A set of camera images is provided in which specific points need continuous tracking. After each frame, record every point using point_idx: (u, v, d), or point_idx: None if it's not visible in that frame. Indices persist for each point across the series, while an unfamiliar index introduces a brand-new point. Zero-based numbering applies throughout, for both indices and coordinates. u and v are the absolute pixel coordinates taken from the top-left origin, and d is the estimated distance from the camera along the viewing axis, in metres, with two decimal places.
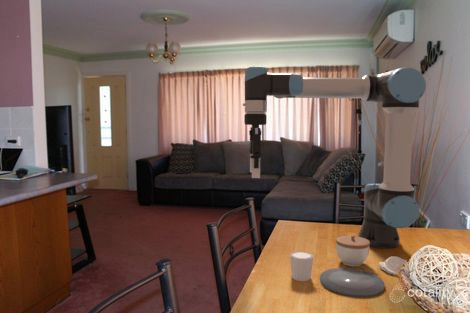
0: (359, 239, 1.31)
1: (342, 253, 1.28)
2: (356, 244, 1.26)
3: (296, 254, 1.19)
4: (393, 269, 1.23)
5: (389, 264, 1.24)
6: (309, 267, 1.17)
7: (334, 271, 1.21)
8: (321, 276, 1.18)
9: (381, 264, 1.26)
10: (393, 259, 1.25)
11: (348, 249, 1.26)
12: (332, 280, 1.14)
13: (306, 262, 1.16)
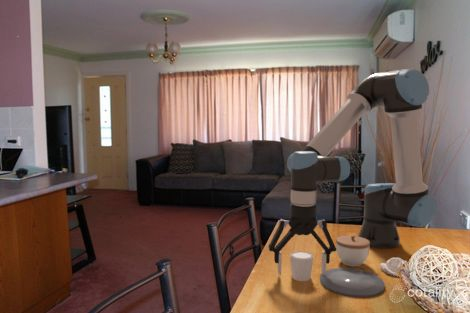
0: (359, 239, 1.31)
1: (342, 253, 1.28)
2: (356, 244, 1.26)
3: (296, 254, 1.19)
4: (394, 270, 1.22)
5: (390, 265, 1.23)
6: (309, 267, 1.17)
7: (334, 271, 1.21)
8: (321, 276, 1.18)
9: (382, 265, 1.25)
10: (394, 260, 1.24)
11: (348, 249, 1.26)
12: (332, 280, 1.14)
13: (306, 262, 1.16)
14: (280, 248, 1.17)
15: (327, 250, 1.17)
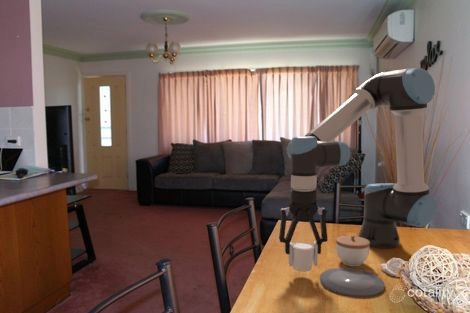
0: (359, 239, 1.31)
1: (342, 253, 1.28)
2: (356, 244, 1.26)
3: (297, 245, 1.19)
4: (395, 271, 1.21)
5: (391, 266, 1.23)
6: (310, 257, 1.17)
7: (334, 271, 1.21)
8: (321, 276, 1.18)
9: (383, 266, 1.25)
10: (395, 261, 1.24)
11: (348, 249, 1.26)
12: (332, 280, 1.14)
13: (307, 253, 1.16)
14: (290, 238, 1.17)
15: (319, 240, 1.17)
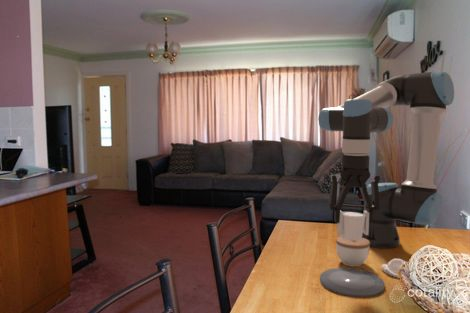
0: None
1: (342, 253, 1.28)
2: (356, 244, 1.26)
3: (347, 213, 1.14)
4: (396, 272, 1.21)
5: (392, 266, 1.22)
6: (362, 226, 1.12)
7: (334, 271, 1.21)
8: (321, 276, 1.18)
9: (384, 266, 1.24)
10: (396, 261, 1.23)
11: (348, 249, 1.26)
12: (332, 280, 1.14)
13: (359, 220, 1.11)
14: (340, 206, 1.12)
15: (370, 208, 1.12)
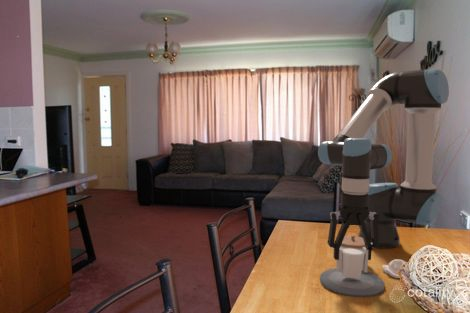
0: (359, 239, 1.31)
1: None
2: (356, 244, 1.26)
3: (346, 250, 1.15)
4: (397, 272, 1.20)
5: (393, 267, 1.22)
6: (361, 264, 1.12)
7: (334, 271, 1.21)
8: (321, 276, 1.18)
9: (384, 267, 1.24)
10: (397, 262, 1.23)
11: None
12: (332, 280, 1.14)
13: (358, 258, 1.12)
14: (340, 243, 1.13)
15: (369, 246, 1.13)
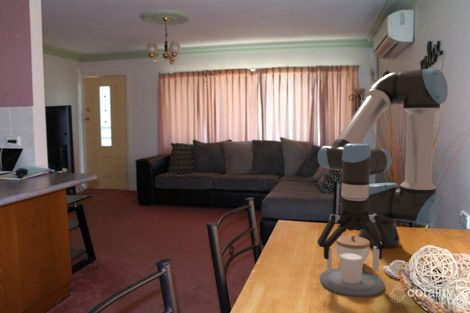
0: (359, 239, 1.31)
1: None
2: (356, 244, 1.26)
3: (345, 255, 1.15)
4: None
5: (394, 268, 1.21)
6: (360, 268, 1.13)
7: (334, 271, 1.21)
8: (321, 276, 1.18)
9: (385, 268, 1.23)
10: (398, 263, 1.22)
11: (348, 249, 1.26)
12: (332, 280, 1.14)
13: (357, 263, 1.12)
14: (330, 243, 1.13)
15: (380, 245, 1.13)
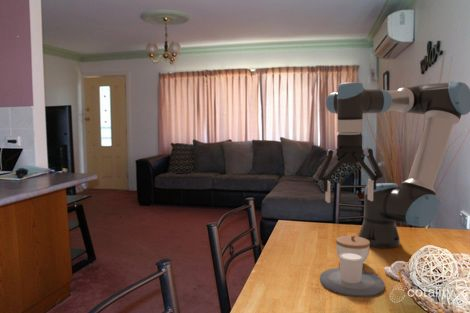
0: (359, 239, 1.31)
1: None
2: (356, 244, 1.26)
3: (345, 255, 1.15)
4: None
5: (395, 269, 1.20)
6: (360, 268, 1.13)
7: (334, 271, 1.21)
8: (321, 276, 1.18)
9: (386, 269, 1.22)
10: (399, 264, 1.21)
11: (348, 249, 1.26)
12: (332, 280, 1.14)
13: (357, 263, 1.12)
14: (329, 177, 1.22)
15: (374, 177, 1.23)
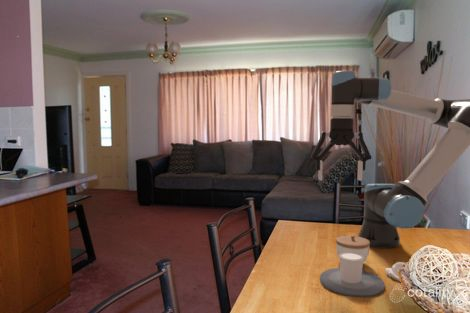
0: (359, 239, 1.31)
1: None
2: (356, 244, 1.26)
3: (345, 255, 1.15)
4: None
5: (396, 270, 1.19)
6: (360, 268, 1.13)
7: (334, 271, 1.21)
8: (321, 276, 1.18)
9: (388, 270, 1.21)
10: (400, 265, 1.20)
11: (348, 249, 1.26)
12: (332, 280, 1.14)
13: (357, 263, 1.12)
14: (321, 156, 1.34)
15: (363, 158, 1.34)
